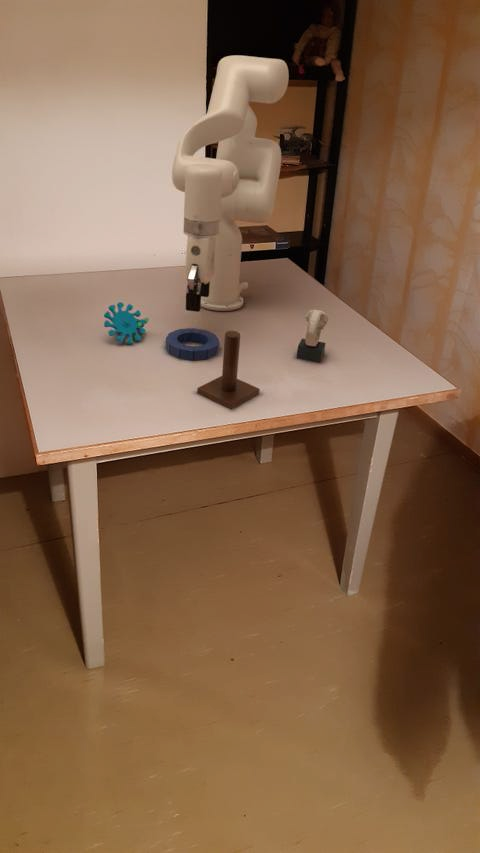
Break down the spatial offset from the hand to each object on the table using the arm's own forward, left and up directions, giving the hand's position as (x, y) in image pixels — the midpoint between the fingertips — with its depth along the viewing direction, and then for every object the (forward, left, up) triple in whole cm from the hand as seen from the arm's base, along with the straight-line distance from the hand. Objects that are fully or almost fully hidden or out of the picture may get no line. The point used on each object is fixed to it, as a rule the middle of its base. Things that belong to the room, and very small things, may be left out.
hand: (197, 303), depth 151 cm
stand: (+14, +21, -9) cm, 27 cm away
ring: (+4, +2, -9) cm, 10 cm away
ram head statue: (-13, +23, -10) cm, 28 cm away
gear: (+11, -12, -10) cm, 19 cm away
